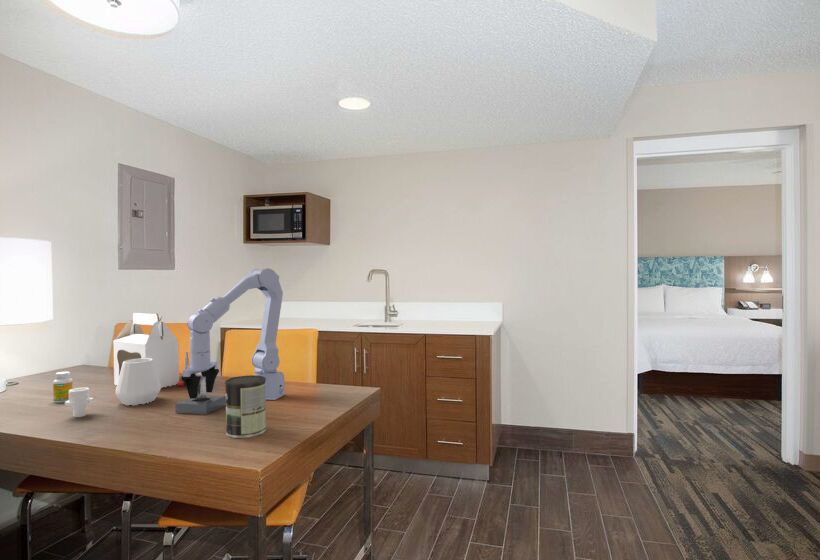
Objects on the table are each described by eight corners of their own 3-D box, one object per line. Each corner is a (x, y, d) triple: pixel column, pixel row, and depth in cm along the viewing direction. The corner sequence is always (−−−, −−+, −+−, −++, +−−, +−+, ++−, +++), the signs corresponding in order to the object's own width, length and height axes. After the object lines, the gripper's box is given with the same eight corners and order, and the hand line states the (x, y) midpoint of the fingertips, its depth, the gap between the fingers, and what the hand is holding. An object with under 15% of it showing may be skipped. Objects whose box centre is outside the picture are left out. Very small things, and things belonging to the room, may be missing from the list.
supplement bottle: (54, 404, 160) (53, 374, 159) (53, 400, 164) (52, 372, 164) (73, 401, 163) (73, 372, 163) (72, 398, 167) (71, 370, 167)
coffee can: (220, 439, 123) (219, 384, 122) (232, 426, 133) (231, 375, 133) (261, 437, 123) (260, 383, 123) (270, 425, 133) (269, 374, 133)
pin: (208, 408, 152) (207, 376, 152) (202, 410, 149) (202, 378, 149) (200, 407, 153) (199, 376, 152) (194, 410, 150) (193, 378, 150)
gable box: (180, 384, 187) (178, 312, 186) (146, 391, 175) (145, 315, 175) (147, 378, 198) (145, 311, 198) (113, 385, 187) (112, 313, 186)
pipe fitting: (61, 419, 141) (61, 392, 141) (73, 413, 148) (73, 387, 148) (85, 418, 143) (85, 391, 143) (96, 411, 150) (95, 386, 150)
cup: (163, 395, 170) (162, 355, 170) (158, 404, 157) (157, 362, 157) (119, 399, 165) (119, 358, 165) (111, 409, 152) (110, 365, 152)
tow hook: (185, 382, 192) (174, 386, 183) (185, 350, 193) (175, 352, 183) (206, 382, 192) (197, 386, 183) (206, 349, 193) (197, 352, 183)
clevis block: (226, 405, 155) (225, 396, 155) (206, 414, 145) (205, 404, 145) (197, 404, 157) (196, 394, 157) (175, 413, 147) (175, 403, 147)
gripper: (203, 348, 158) (204, 389, 159) (173, 355, 144) (174, 400, 144) (222, 348, 157) (223, 389, 157) (194, 356, 143) (195, 401, 143)
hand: (201, 395), depth 151 cm, fingers open, 7 cm apart
